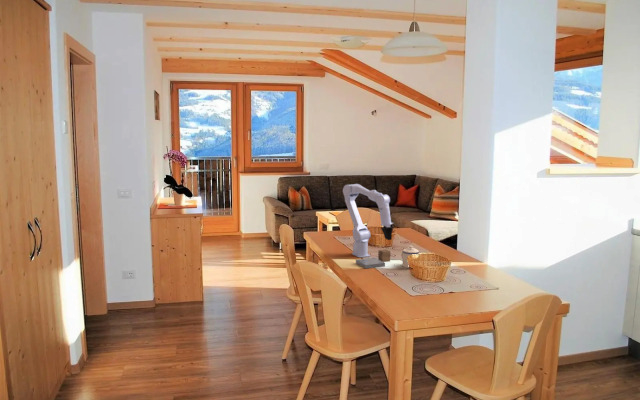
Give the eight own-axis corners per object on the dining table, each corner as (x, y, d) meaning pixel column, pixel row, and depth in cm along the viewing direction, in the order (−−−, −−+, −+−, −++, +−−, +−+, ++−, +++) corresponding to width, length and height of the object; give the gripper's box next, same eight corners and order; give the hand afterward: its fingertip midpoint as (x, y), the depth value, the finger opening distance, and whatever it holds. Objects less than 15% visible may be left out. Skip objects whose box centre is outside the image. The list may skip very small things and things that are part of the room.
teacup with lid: (422, 267, 273) (422, 246, 271) (409, 269, 269) (409, 248, 267) (408, 262, 283) (408, 242, 282) (395, 264, 279) (396, 244, 277)
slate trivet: (355, 263, 281) (355, 259, 281) (374, 261, 286) (374, 257, 285) (365, 268, 270) (365, 265, 270) (384, 266, 275) (384, 262, 274)
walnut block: (378, 260, 288) (378, 250, 287) (385, 259, 290) (385, 249, 289) (382, 262, 284) (382, 251, 283) (390, 261, 286) (390, 251, 285)
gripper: (394, 215, 274) (397, 239, 274) (390, 214, 288) (393, 237, 288) (381, 216, 274) (385, 240, 273) (378, 216, 288) (381, 239, 288)
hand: (388, 239), depth 281 cm, fingers open, 7 cm apart
